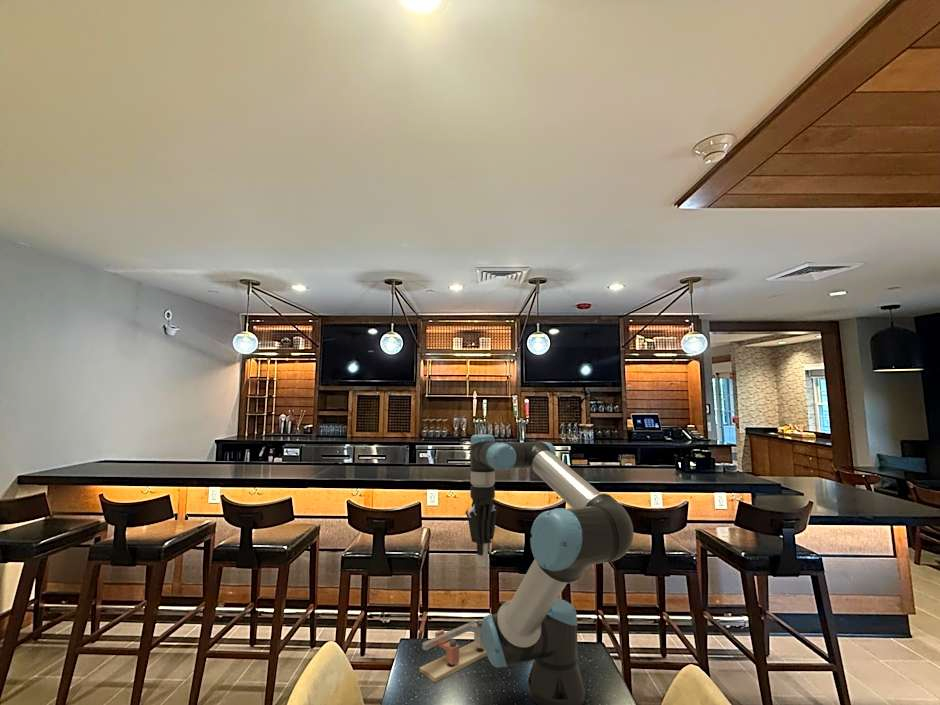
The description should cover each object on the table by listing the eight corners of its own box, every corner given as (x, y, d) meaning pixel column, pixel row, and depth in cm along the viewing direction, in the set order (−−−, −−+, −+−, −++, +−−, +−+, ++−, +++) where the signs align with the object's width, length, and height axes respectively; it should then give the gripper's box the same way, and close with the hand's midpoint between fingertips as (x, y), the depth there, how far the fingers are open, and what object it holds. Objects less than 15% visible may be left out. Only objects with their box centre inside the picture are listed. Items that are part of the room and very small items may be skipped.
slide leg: (458, 662, 133) (459, 639, 134) (452, 666, 131) (452, 642, 132) (441, 652, 139) (442, 629, 139) (435, 655, 137) (435, 632, 138)
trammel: (485, 650, 141) (486, 622, 142) (435, 676, 127) (435, 644, 128) (472, 642, 145) (472, 615, 146) (421, 667, 131) (422, 636, 132)
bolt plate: (490, 653, 141) (490, 649, 141) (435, 682, 126) (435, 678, 126) (474, 645, 146) (474, 641, 146) (419, 671, 131) (419, 667, 131)
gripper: (487, 481, 147) (487, 558, 144) (459, 486, 138) (458, 567, 135) (505, 484, 142) (506, 563, 139) (477, 488, 133) (477, 574, 130)
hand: (482, 565), depth 137 cm, fingers closed
